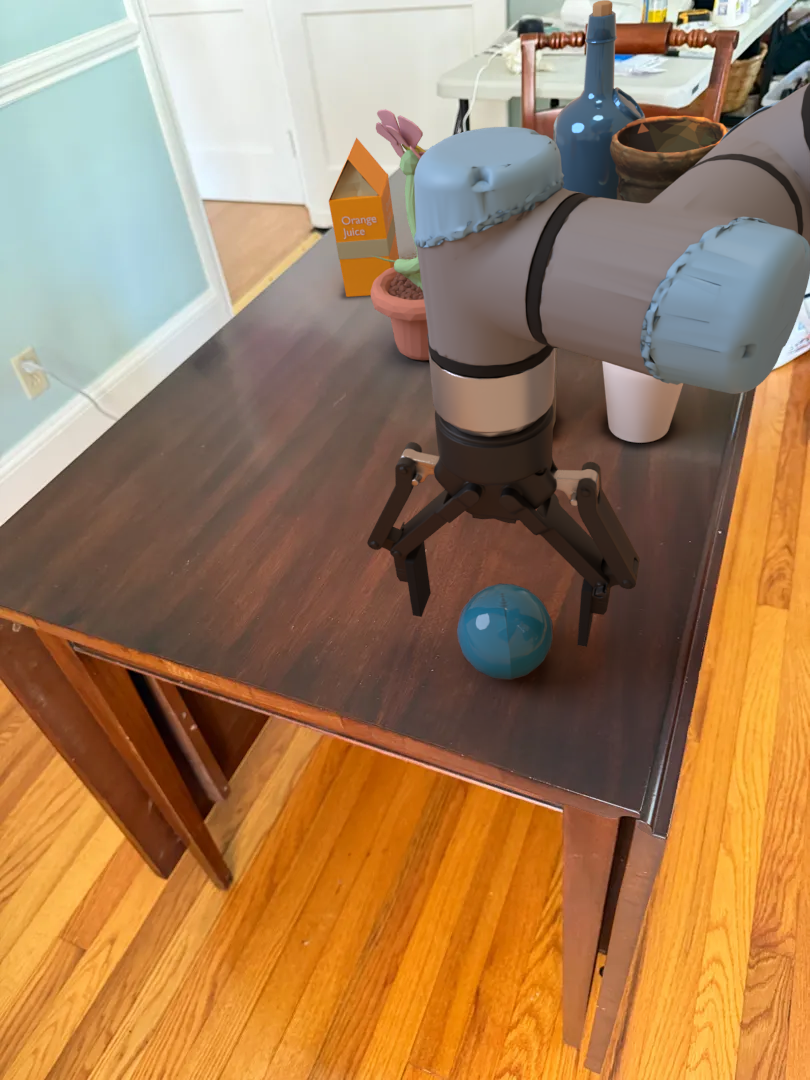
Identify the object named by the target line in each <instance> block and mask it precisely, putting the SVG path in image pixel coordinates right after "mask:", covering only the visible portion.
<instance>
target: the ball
mask: <svg viewBox="0 0 810 1080" xmlns="http://www.w3.org/2000/svg"><path fill="white" fill-rule="evenodd" d="M553 635H554V624H553V619H552V617H551V615H550V613H549V611H548V609H547V607H546V604H545V603H544V601H543V600H542V599H541V598H540V597H538V596H537V595H536V594H535V593H534V592H533V591H531V590H530V589H528V588H525V587H522V586H520V585H517V584H514V583H502V582H501V583H500V582H499V583H495V584H491V585H488V586H485V587H483V588H482V589H480V590H478V591H477V592H475V593H474V594H472V595H471V596H470V597H469V599H468V600H467V601H466V602H465V605H464V606H463V607H462V609H461V610H460V613H459V615H458V620H457V628H456V638H457V641H458V644H459V647H460V650H461V653H462V656H463V657H464V659H465V660H466V662H468V663H469V664H470V665H471V666H472V667H473V668H474V670H475V671H477V672H478V673H480V674H482V675H485V676H487V677H489V678H492V679H494V680H505V681H511V680H516V679H519V678H522V677H523V678H524V677H526V676H528V675H529V674H530V673H532V672H533V671H535V670H536V669H537V668H539V667H540V666H541V665H542V664H543V663H544V661H545V659H546V657H547V656H548V654H549V652H550V651H551V648H552V645H553Z"/></svg>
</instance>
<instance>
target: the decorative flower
mask: <svg viewBox="0 0 810 1080" xmlns="http://www.w3.org/2000/svg"><path fill="white" fill-rule="evenodd" d="M376 116H377V117H378V119H379V120H380V122H379V121H378V122H376V124H375V131H376V133H377V134H378V135H380V136H381V137H383V138H384V139H385V140H386V141H388V142H389V143H390V145H391V147H392V148H393V150H394V151H395V153H396V155H397V156H398V157H399V158H400V161H399V168H400V170H401V172H402V173H403V175H404V176H405V183H404V200H405V209H406V219H407V223H408V226H409V229H410V234H411V237H412V241H413V243H414V247H415V251H416V257H414V258H411V259H409V258H407V259H405V258H399V259H397V260H396V261H394V260H389V259H385V258H381V257H377V256H373V257H376V258H379V259H382V260H385V261H389V262H395V263H394V267H392V268H390V269H387V270H386V271H384V272H383V273H382V274H381V275H380V276H379V277H377V278H376V279H375V281H374V282H373V285H372V289H371V295H370V299H371V302H372V305H373V309H374V310H376V311H377V312H379V313H380V314H383V315H384V316H386V317H388V318H390V322H391V327H392V328H391V329H392V332H393V338H394V343H395V345H396V347H397V349H398V351H399V353H401V354H402V355H404V356H405V357H407V358H408V359H410V360H415V361H416V360H417V361H429V350H428V349H429V347H428V338H427V334H428V327H427V318H426V310H425V303H424V296H423V289H422V281H421V274H420V267H419V260H418V253H417V246H416V245H415V241H414V236H415V233H416V216H415V187H414V175H415V169H416V166H417V164H418V162H419V160H420V158H421V157H422V155H423V154H424V153H425V152H426V151H427V150H425V149H424V148H422V147H421V146H419V145H418V144H419V143H420V142H421V140H422V137H423V136H424V134H423V133H424V132H423V130H422V129H421V128H420V127H419V125H417V124H416V123H415V122H413V120H410V119H408V118H406V117H405V116H403V115H398V116H397V117H396V115H395V113H394V112H392V111H391V110H388V109H386V108H385V109H384V108H383V109H379V110H377V112H376Z"/></svg>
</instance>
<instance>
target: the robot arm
mask: <svg viewBox="0 0 810 1080" xmlns="http://www.w3.org/2000/svg"><path fill="white" fill-rule="evenodd" d="M425 151H426V152H425V153H424V154H423V155H422V157H421V158H420V160H419V162H418V164H417V166H416V169H415V175H414V187H415V216H416V233H415V236H414V240H413V242H414V241H415V244H414V246H415V245H416V246H417V252H416V254H417V253H418V260H419V267H420V274H421V281H422V289H423V296H424V303H425V310H426V318H427V327H428V334H427V338H428V347H429V349H428V350H429V360H428V362H429V372H430V381H431V393H432V403H433V404H432V406H433V408H434V409H435V411H434V423H435V432H436V433H435V434H436V443H437V444H436V445H437V453H438V455H435V454H429V453H425V452H423V449H422V447H421V445H420V444H419V443H418V442H415V441H410V442H407V444H405V447H404V448H403V451H402V453H401V455H400V456H399V459H398V461H397V462H396V465H395V469H394V472H395V479H394V481H395V482H394V483H395V484H394V485H395V486H394V488H393V489H392V491H391V492H390V495H389V497H388V499H387V501H386V502H385V505H384V507H383V508H382V511H381V512H380V515H379V517H378V519H377V520H376V523H375V525H374V527H373V529H372V531H371V533H370V535H369V537H368V539H367V541H366V543H367V546H368V547H369V548H370V549H372V550H375V551H380V550H381V549H385V550H387V551H389V553H390V555H391V556H392V557H393V562H394V568H395V574H396V577H397V579H398V581H399V582H403V583H407V586H408V593H409V600H410V605H411V613H412V616H415V617H419V618H422V617H423V614H424V612H425V609H426V606H427V604H428V602H429V599H430V596H431V592H432V591H431V584H430V575H429V570H428V560H427V553H426V546H425V545H426V544H425V541H426V540H427V539H429V538H430V537H431V536H432V535H434V534H435V533H436V532H437V531H438V530H440V529H441V528H442V527H443V526H444V525H446V524H447V523H448V524H451V523H452V522H453V521H454V520H456V519H457V518H459V517H460V516H461V515H462V514H463V513H465V512H466V513H468V514H470V515H471V516H472V519H479V520H497V521H500V522H502V523H503V522H504V523H506V524H516V523H517V521H520V522H521V523H522V525H524V527H525V528H527V530H528V531H530V532H531V533H532V534H533V535H534V536H541V537H542V538H543V539H544V540H545V541H546V542H547V543H548V544H549V545H550V546H551V547H552V548H553V549H554V550H555V552H557V553H558V554H559V555H560V556H561V557H562V558H563V559H564V560H565V561H566V562H567V563H568V564H569V565H570V566H571V567H572V568H573V569H574V570H575V571H576V572H577V573H578V574H579V575H580V576H581V577H582V578H583V581H582V585H581V591H580V603H579V604H580V605H579V618H578V630H577V643H576V646H580V647H586V648H588V643H589V639H590V634H591V629H592V623H593V616H594V614H595V615H600V616H601V615H602V616H604V615H605V614H606V613H607V612H608V607H609V601H610V597H611V596H610V595H611V588H612V587H615V586H619V587H621V588H622V589H624V590H632V589H634V588H635V587H636V586H637V580H638V573H639V567H640V561H641V560H640V556H639V554H638V553H637V551H636V549H635V547H634V545H633V543H632V542H631V540H630V538H629V536H628V534H627V532H626V530H625V529H624V527H623V525H622V523H621V521H620V520H619V518H618V516H617V514H616V512H615V510H614V509H613V506H612V505H611V503H610V501H609V499H608V497H607V496H606V494H605V492H604V490H603V487H602V473H601V471H602V470H601V467H600V465H599V464H598V463H596V462H594V461H587V462H584V464H583V465H582V466H581V470H578V469H577V470H576V469H575V470H574V469H558V466H557V465H556V463H555V461H554V460H553V443H554V439H553V438H554V427H553V404H552V401H553V398H554V376H555V348H557V349H562V350H565V351H568V352H571V353H576V354H578V355H582V356H585V357H588V358H591V359H595V360H597V361H601V362H602V361H604V362H607V363H610V364H614V365H617V366H620V367H623V368H626V369H630V370H633V371H636V372H639V373H642V374H646V375H649V376H652V377H654V378H656V379H660V380H661V381H662V382H664V383H668V384H669V383H672V384H676V385H678V384H680V383H683V385H688V386H692V387H693V386H694V387H698V388H701V389H706V390H711V391H717V392H721V393H724V394H725V393H727V394H730V395H738V394H744V393H747V392H750V391H752V390H754V389H755V388H757V387H758V386H760V385H761V384H762V383H763V382H764V381H765V380H766V379H767V377H768V376H769V375H770V374H771V372H772V371H773V369H774V368H775V366H776V365H777V363H778V361H779V358H780V355H781V353H782V351H783V348H784V347H785V346H786V345H787V343H788V341H789V339H790V338H791V335H792V332H793V330H794V327H795V326H796V322H797V320H798V317H799V314H800V311H801V309H802V305H803V302H804V300H805V296H806V292H807V288H808V285H809V280H810V82H808V83H806V84H805V85H803V86H801V87H800V88H798V89H797V90H795V91H793V92H792V93H790V94H789V95H787V96H786V97H784V98H782V99H779V100H777V101H775V102H773V103H770V104H767V105H764V106H763V107H761V108H759V109H757V110H756V111H754V112H753V113H751V114H750V115H748V116H746V117H745V118H744V119H743V120H741V121H740V122H739V123H737V124H736V125H734V126H733V127H732V128H731V129H730V130H728V132H727V133H726V134H725V135H724V136H723V138H722V139H721V141H720V142H719V144H718V145H716V146H715V147H714V148H713V149H712V150H711V151H710V152H709V153H708V154H706V155H705V156H704V157H703V158H702V159H701V160H700V161H699V162H698V163H696V164H695V165H694V166H692V167H691V168H689V169H688V170H687V171H686V172H685V173H684V174H683V175H682V176H681V177H679V178H678V179H677V180H676V181H675V182H674V183H672V184H671V185H670V186H669V187H668V188H666V189H665V190H664V191H663V192H662V193H661V194H659V195H658V196H657V197H656V198H655V199H653V200H652V201H651V202H650V203H646V204H645V203H636V202H628V201H622V200H615V199H608V198H602V197H596V196H592V195H586V194H584V193H580V192H574V191H569V190H567V189H564V188H563V185H564V182H563V177H564V175H563V173H562V166H561V156H560V151H559V149H558V147H557V144H556V143H555V142H554V141H553V138H551V137H549V136H548V135H543V134H540V133H539V132H537V131H536V130H534V129H532V128H527V127H520V126H519V127H518V126H491V127H481V128H475V129H471V130H465V131H463V132H459V133H456V134H452V135H450V136H447V137H445V138H444V139H442V140H440V141H439V142H437V143H435V144H434V145H431V146H430V147H428V148H427V150H425ZM428 476H434V478H435V480H436V481H437V482H438V484H440V486H441V487H442V488H443V489H444V490H443V491H441V492H440V493H439V494H438V495H437V496H435V498H433V499H432V500H431V501H430V502H428V504H426V505H425V506H424V507H423V508H422V509H421V510H419V511H418V512H417V513H416V514H415V515H414V516H412V517H411V518H410V519H409V520H408V521H407V522H406V523H405V521H403V522H402V524H401V526H400V528H398V527H395V526H394V525H395V524H396V522H397V520H398V518H399V516H400V515H401V512H402V511H403V509H404V507H405V505H406V503H407V501H408V499H409V497H410V495H411V493H412V491H413V489H414V487H418V486H419V485H420V484H422V483H424V482H425V481H426V480H427V477H428ZM556 491H560V492H563V493H564V494H565V495H566V497H567V499H568V500H569V504H570V505H571V507H577V510H578V514H579V517H580V519H581V521H582V523H583V525H584V526H585V528H586V530H587V531H588V532H587V531H586V530H585V529H583V527H582V526H581V525H580V524H579V523H578V522H577V521H576V520H575V519H574V518H573V517H572V516H571V515H570V514H569V512H567V511H566V510H565V508H564V507H562V505H561V504H560V500H559V497H558V496H557V494H556ZM588 533H589V534H588Z"/></svg>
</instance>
